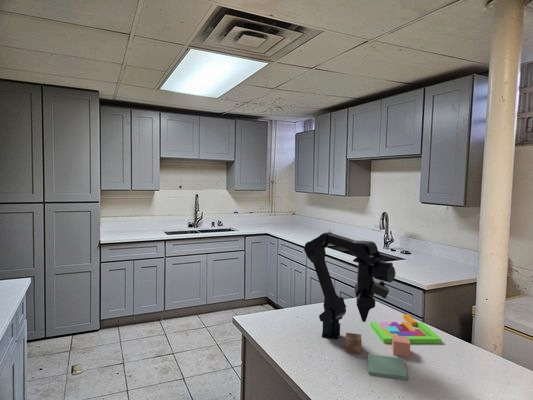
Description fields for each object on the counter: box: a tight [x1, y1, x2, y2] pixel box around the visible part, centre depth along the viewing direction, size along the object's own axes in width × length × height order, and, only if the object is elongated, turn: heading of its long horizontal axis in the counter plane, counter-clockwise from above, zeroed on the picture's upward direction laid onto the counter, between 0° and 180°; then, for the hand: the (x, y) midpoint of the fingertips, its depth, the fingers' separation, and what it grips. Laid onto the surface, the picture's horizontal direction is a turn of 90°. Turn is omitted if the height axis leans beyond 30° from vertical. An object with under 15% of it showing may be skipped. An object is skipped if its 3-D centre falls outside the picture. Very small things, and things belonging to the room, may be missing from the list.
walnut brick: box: [344, 332, 363, 355], centre depth 133 cm, size 6×6×5 cm
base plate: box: [366, 353, 409, 381], centre depth 121 cm, size 12×12×1 cm
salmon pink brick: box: [391, 335, 411, 357], centre depth 132 cm, size 6×6×5 cm
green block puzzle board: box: [369, 313, 442, 344], centre depth 152 cm, size 23×2×25 cm
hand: (363, 316), depth 134 cm, fingers open, 9 cm apart
